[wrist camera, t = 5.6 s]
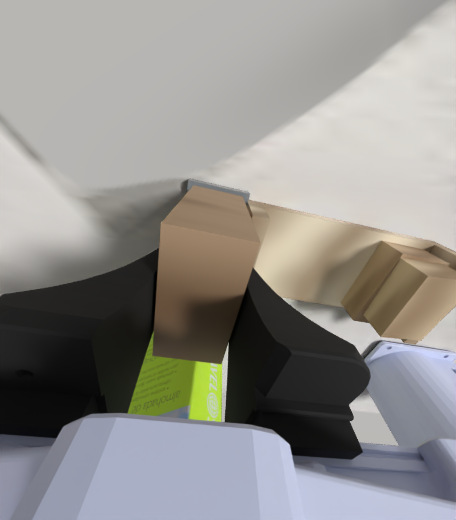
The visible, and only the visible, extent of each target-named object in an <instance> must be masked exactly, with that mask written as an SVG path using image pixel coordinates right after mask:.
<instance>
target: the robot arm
mask: <svg viewBox="0 0 456 520" xmlns="http://www.w3.org/2000/svg"><path fill="white" fill-rule="evenodd" d="M158 259H159V248H158V249H157V250H155V251H153V252H152V253H150V254H148V255H146V256H145V257H143V258H141V259H139V260H137V261H135V262H133V263H131V264H128V265H126V266H124V267H121V268H119V269H116V270H114V271H111V272H108V273H105V274H102V275H98V276H95V277H92V278H88V279H85V280H81V281H77V282H73V283H68V284H63V285H59V286H54V287H48V288H42V289H36V290H29V291H23V292H16V293H9V294H4V295H2V296H1V297H0V520H456V364H455V363H454V362H453V361H454V360H456V353H455V352H450V351H444V350H437V349H431V348H424V347H418V346H411V345H405V344H398V343H392V342H385V341H383V342H380V343H379V344H378V345H377V346H376V347H375V348H374V349H373V350H372V351H371V352H370V354H369V355H368V356H367V357H366V358H365V359H364V360H363V358H362V357H361V355H360V354H359V352H358V350H357V349H356V347H355V346H354V345H353V344H351V343H349V342H347V341H345V340H343V339H342V338H340V337H338V336H336V335H334V334H332V333H330V332H329V331H327V330H325V329H324V328H322V327H320V326H319V325H317V324H316V323H314V322H312V321H311V320H309V319H308V318H306V317H305V316H304V315H302V314H301V313H299V312H298V311H297V310H295V309H294V308H293V307H292V306H290V305H289V304H288V303H287V302H285V301H284V300H283V299H282V298H281V297H280V296H279V295H278V294H277V293H275V292H274V291H273V290H272V288H271V287H270V286H269V285H268V284H267V283H266V282H265V281H264V280H263V279H262V277H261V276H260V275H259V274H258V273H257V271H256V270H255V269H254V268H252V272H251V275H250V278H249V281H248V284H247V287H246V290H245V293H244V296H243V299H242V302H241V305H240V308H239V312H238V315H237V318H236V321H235V324H234V327H233V330H232V333H231V336H230V339H229V349H228V374H227V393H226V410H225V422H216V421H205V420H193V419H182V418H171V417H160V416H149V415H137V414H127V413H128V410H129V407H130V403H131V400H132V396H133V393H134V390H135V387H136V383H137V380H138V377H139V374H140V371H141V367H142V364H143V361H144V358H145V355H146V352H147V349H148V346H149V343H150V340H151V337H152V334H153V331H154V321H155V306H156V290H157V275H158ZM365 388H366V389H367V391H368V392H369V394H370V396H371V398H372V399H373V401H374V403H375V405H376V406H377V408H378V410H379V412H380V413H381V415H382V417H383V418H384V420H385V422H386V424H387V425H388V427H389V429H390V431H391V433H392V434H393V436H394V438H395V439H396V441H397V443H398V445H399V446H395V445H383V444H371V443H359V441H358V439H357V437H356V435H355V432H354V430H353V428H352V426H351V423H350V421H352V420H353V419H354V416H353V414H352V411H351V409H350V407H349V404H350V403H351V402H352V401H353V400H354V399H355V398H357V397H358V396H359V395H360V394H361V393H362V392H363V391H364V390H365Z"/></svg>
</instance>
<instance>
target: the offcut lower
mask: <svg viewBox="0 0 456 520" xmlns="http://www.w3.org/2000/svg"><path fill="white" fill-rule="evenodd" d="M401 258H403V259H410V260H418V261H425V262H433V263H440V264H445V265H446V266H449V265H450V263H448V262H446V261H444V260H442V259H440V258H439V257H437V256H435V255H433V254H431V253H429V252H428V251H426V250H423V249H419V248H414V247H410V246H405V245H401V244H396V243H391V242H387V241H381V242H380V244H379V245H378V247H377V248H376V250H375V251H374V253H373V254H372V256H371V257H370V259H369V260H368V262H367V263H366V265H365V266H364V268H363V269H362V271H361V272H360V274H359V275H358V277H357V278H356V280H355V282H354V283H353V285H352V286H351V288H350V289H349V291H348V292H347V294H346V295H345V297H344V298H343V300H342V301H341V304H342V305H343V307H344V308H345V310H346V311H347V312H348V314H349V315H350V317H351V318H352V319H353V320H354V321H360V322H366V323H369V322H368V320H367V319H366V318H365V317H364V315H363V314H364V313H365V311H366V310H367V308H368V307H369V305H370V304H371V302H372V301H373V299H374V298H375V296H376V295H377V293H378V292H379V290H380V289H381V287H382V286H383V284H384V283H385V281H386V280H387V278H388V277H389V275H390V274H391V272H392V271H393V269H394V268H395V266H396V265H397V263H398V262H399V260H400V259H401Z"/></svg>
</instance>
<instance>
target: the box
mask: <svg viewBox="0 0 456 520" xmlns="http://www.w3.org/2000/svg"><path fill="white" fill-rule="evenodd" d="M153 337H154V332H153V334H152V337H151V340H150V343H149V346H148V349H147V352H146V355H145V358H144V361H143V364H142V367H141V371H140V374H139V377H138V380H137V383H136V387H135V390H134V393H133V396H132V400H131V403H130V407H129V410H128V413H127V414H137V415H149V416H160V417H171V418H182V419H193V420H205V421H216V422H221V414H222V411H221V410H222V364H214V363H206V362H198V361H190V360H182V359H174V358H166V357H158V356H152V353H153Z"/></svg>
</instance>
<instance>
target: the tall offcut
mask: <svg viewBox="0 0 456 520" xmlns="http://www.w3.org/2000/svg"><path fill="white" fill-rule="evenodd" d="M260 244H261V242H260V240H259V237H258V234H257V232H256V229H255V227H254V224H253V222H252V219H251V217H250V214H249V211H248V209H247V206H246V204H245V201H244V199H243V196H239V195H234V194H230V193H225V192H221V191H217V190H212V189H208V188H203V187H199V186H195V185H193V187H192V188H191V189H190V190H189V191H188V192H187V193H186V195H185V196H184V197H183V198H182V199H181V200H180V201H179V203H178V204H177V205H176V206H175V207H174V208H173V209H172V211H171V212H170V213H169V214H168V215H167V216H166V218H165V219H164V220H163V221H162V222H161V228H160V244H159V259H158V275H157V290H156V306H155V321H154V337H153V353H152V356H158V357H166V358H174V359H182V360H190V361H198V362H206V363H214V364H222V361H223V358H224V355H225V351H226V348H227V345H228V342H229V339H230V336H231V333H232V330H233V327H234V324H235V321H236V318H237V315H238V312H239V308H240V305H241V302H242V299H243V296H244V293H245V290H246V287H247V284H248V281H249V278H250V275H251V272H252V268H253V265H254V262H255V259H256V256H257V253H258V250H259V247H260Z"/></svg>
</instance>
